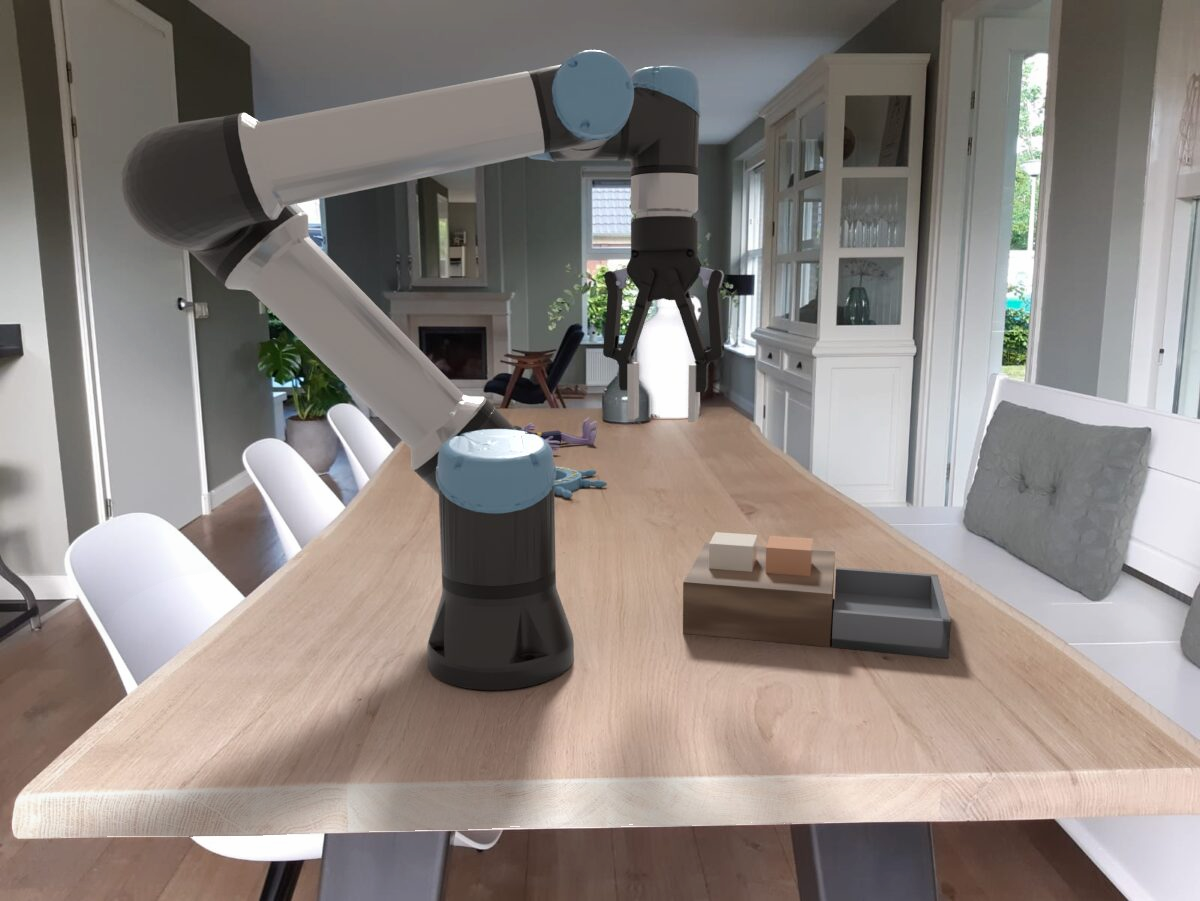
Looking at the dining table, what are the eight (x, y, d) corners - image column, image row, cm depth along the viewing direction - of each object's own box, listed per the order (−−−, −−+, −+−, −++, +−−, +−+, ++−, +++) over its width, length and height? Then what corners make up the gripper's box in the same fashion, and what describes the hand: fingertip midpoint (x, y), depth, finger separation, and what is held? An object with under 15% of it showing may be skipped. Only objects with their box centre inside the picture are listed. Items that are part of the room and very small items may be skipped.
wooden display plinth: (829, 647, 99) (831, 593, 97) (682, 633, 103) (683, 581, 102) (833, 598, 114) (835, 551, 113) (704, 587, 118) (705, 542, 117)
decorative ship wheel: (482, 454, 195) (621, 458, 189) (483, 468, 196) (621, 474, 190) (428, 484, 166) (590, 490, 160) (429, 501, 167) (590, 508, 161)
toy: (609, 426, 211) (480, 418, 201) (605, 465, 212) (476, 459, 203) (577, 410, 235) (461, 403, 226) (574, 446, 237) (458, 440, 227)
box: (948, 658, 95) (950, 621, 95) (831, 647, 98) (833, 611, 98) (935, 606, 111) (937, 574, 110) (834, 598, 114) (835, 567, 113)
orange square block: (810, 576, 103) (811, 550, 103) (765, 572, 105) (766, 547, 104) (812, 563, 108) (813, 538, 107) (769, 560, 109) (769, 535, 109)
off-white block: (752, 571, 105) (752, 546, 104) (708, 568, 106) (709, 543, 106) (756, 559, 110) (757, 534, 109) (714, 556, 111) (715, 532, 110)
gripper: (754, 216, 104) (750, 417, 108) (590, 220, 109) (591, 412, 113) (747, 211, 97) (742, 427, 101) (571, 216, 102) (574, 421, 106)
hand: (663, 419), depth 107 cm, fingers open, 6 cm apart
